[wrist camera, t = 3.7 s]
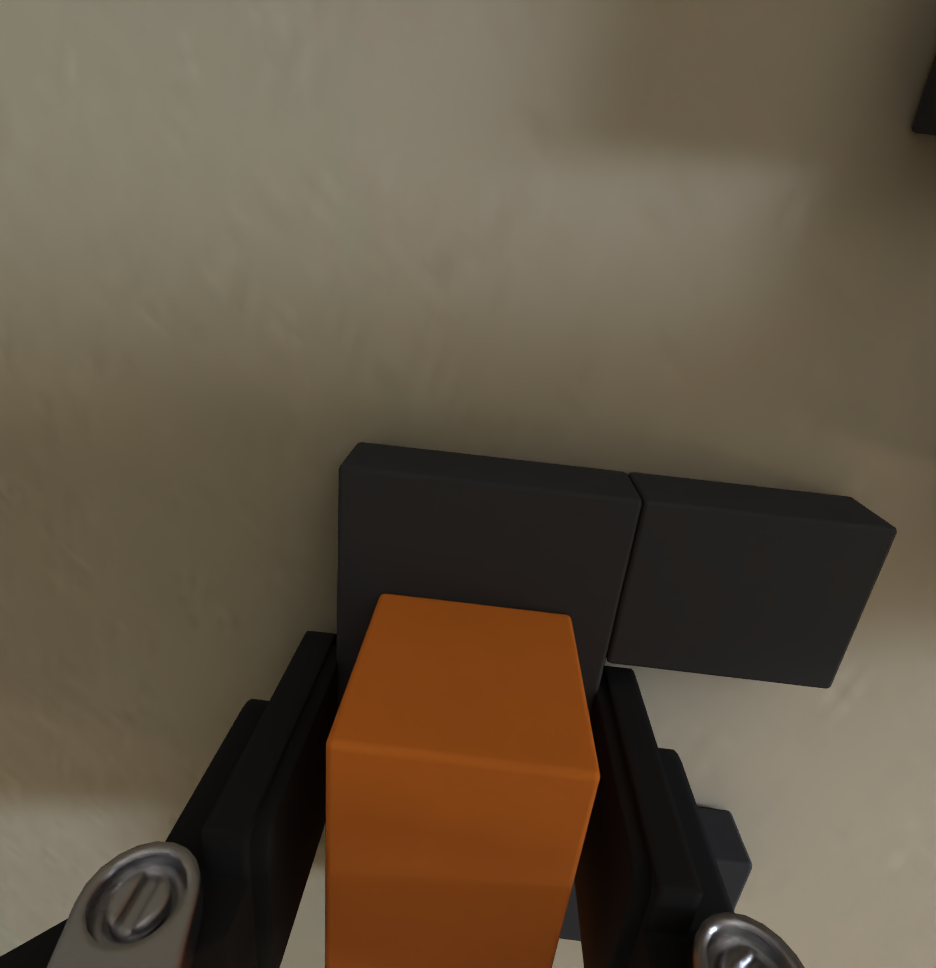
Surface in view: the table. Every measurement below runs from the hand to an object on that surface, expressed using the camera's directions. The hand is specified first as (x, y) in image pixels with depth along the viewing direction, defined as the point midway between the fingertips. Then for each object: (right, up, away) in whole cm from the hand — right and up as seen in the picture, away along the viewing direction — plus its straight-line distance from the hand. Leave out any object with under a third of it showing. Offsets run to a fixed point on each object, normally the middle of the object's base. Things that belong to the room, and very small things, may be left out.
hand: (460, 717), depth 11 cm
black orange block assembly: (+2, 0, 0) cm, 2 cm away
